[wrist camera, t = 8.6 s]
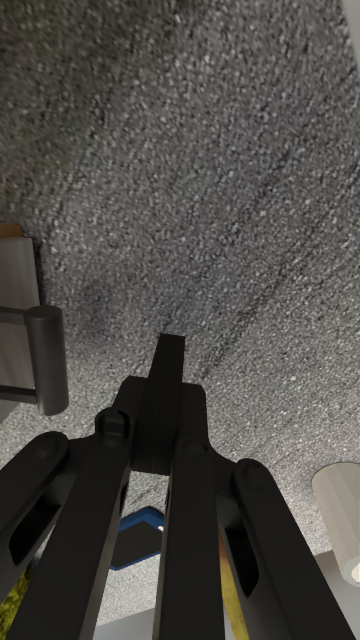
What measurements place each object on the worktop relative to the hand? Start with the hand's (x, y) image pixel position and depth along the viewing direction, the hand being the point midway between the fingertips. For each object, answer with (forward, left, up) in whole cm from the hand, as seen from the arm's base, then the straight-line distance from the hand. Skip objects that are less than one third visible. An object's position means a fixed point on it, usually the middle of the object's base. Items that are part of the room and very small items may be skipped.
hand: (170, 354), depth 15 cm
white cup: (-19, +15, -5) cm, 25 cm away
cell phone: (+2, +31, -4) cm, 32 cm away
